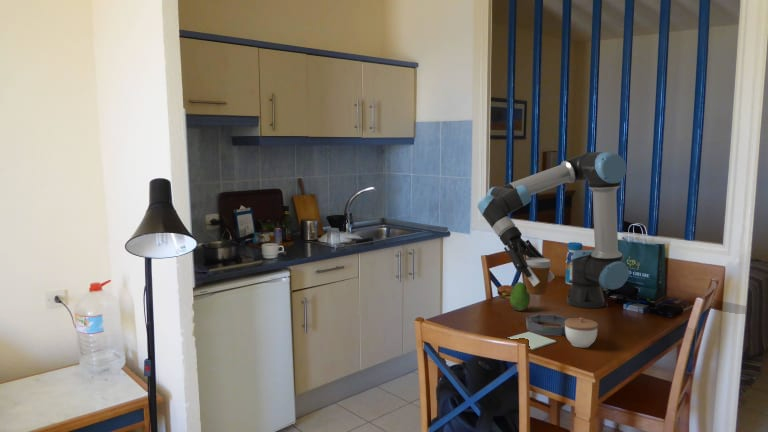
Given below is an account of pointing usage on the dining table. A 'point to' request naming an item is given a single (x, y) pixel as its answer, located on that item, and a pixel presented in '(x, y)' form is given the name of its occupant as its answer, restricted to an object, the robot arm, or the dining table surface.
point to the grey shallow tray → (546, 330)
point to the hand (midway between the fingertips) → (544, 281)
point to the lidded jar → (581, 331)
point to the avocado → (519, 297)
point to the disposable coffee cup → (538, 274)
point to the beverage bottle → (572, 248)
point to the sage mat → (534, 340)
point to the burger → (505, 291)
